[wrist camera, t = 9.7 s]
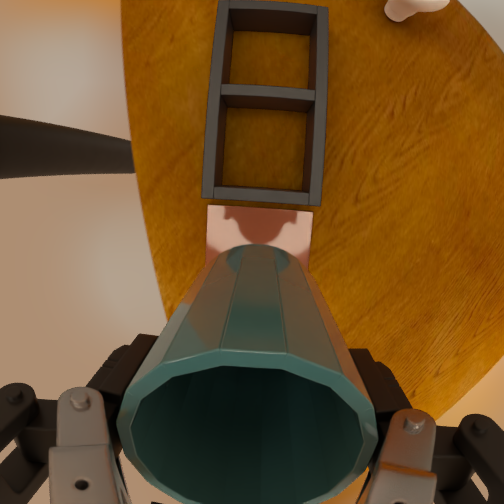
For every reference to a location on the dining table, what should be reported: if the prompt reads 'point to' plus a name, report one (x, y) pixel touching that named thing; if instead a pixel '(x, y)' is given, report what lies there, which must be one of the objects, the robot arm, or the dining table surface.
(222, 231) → the coaster
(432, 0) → the lightbulb
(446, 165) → the dining table surface
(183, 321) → the cup
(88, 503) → the robot arm
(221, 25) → the divided storage box
